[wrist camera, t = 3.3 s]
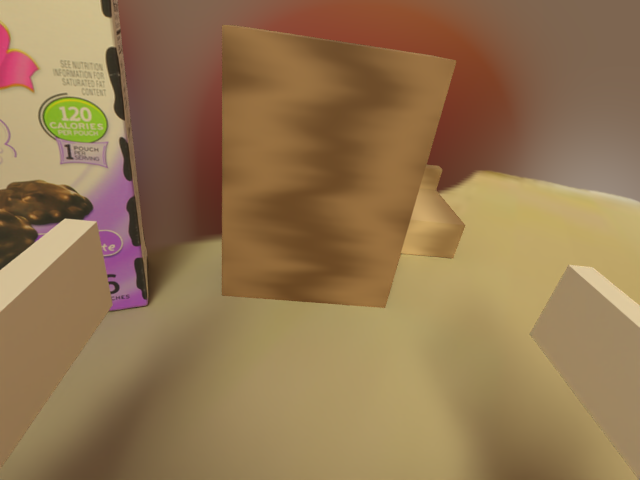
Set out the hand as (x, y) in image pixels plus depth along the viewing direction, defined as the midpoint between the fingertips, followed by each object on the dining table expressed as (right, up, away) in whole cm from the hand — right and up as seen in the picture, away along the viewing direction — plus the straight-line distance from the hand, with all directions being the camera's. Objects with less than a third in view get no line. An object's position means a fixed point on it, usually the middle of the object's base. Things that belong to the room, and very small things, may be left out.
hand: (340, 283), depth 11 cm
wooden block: (-2, -2, +13) cm, 13 cm away
